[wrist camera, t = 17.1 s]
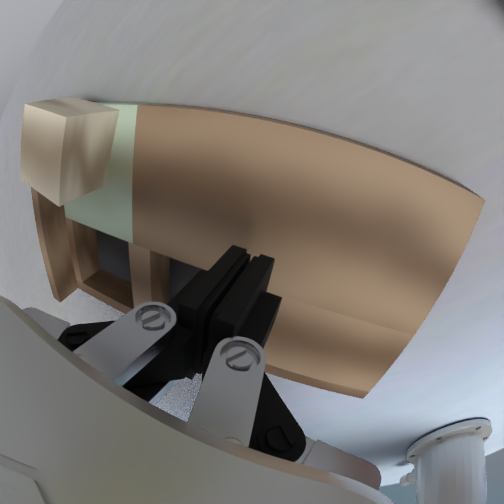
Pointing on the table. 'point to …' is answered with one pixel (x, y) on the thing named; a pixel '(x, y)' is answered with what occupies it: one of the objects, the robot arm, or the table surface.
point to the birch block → (66, 147)
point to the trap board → (267, 232)
